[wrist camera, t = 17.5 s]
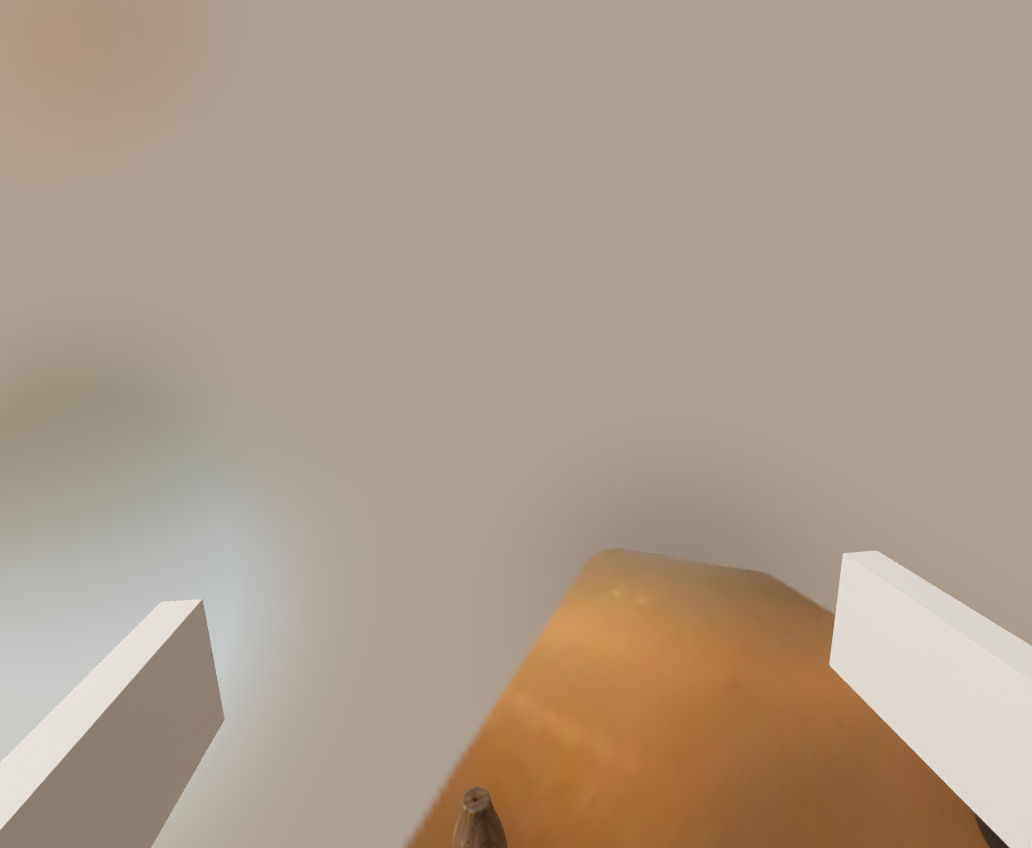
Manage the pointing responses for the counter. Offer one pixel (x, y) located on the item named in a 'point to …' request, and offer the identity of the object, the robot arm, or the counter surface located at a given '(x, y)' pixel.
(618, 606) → the counter surface
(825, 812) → the counter surface
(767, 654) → the counter surface
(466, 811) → the hand bell
